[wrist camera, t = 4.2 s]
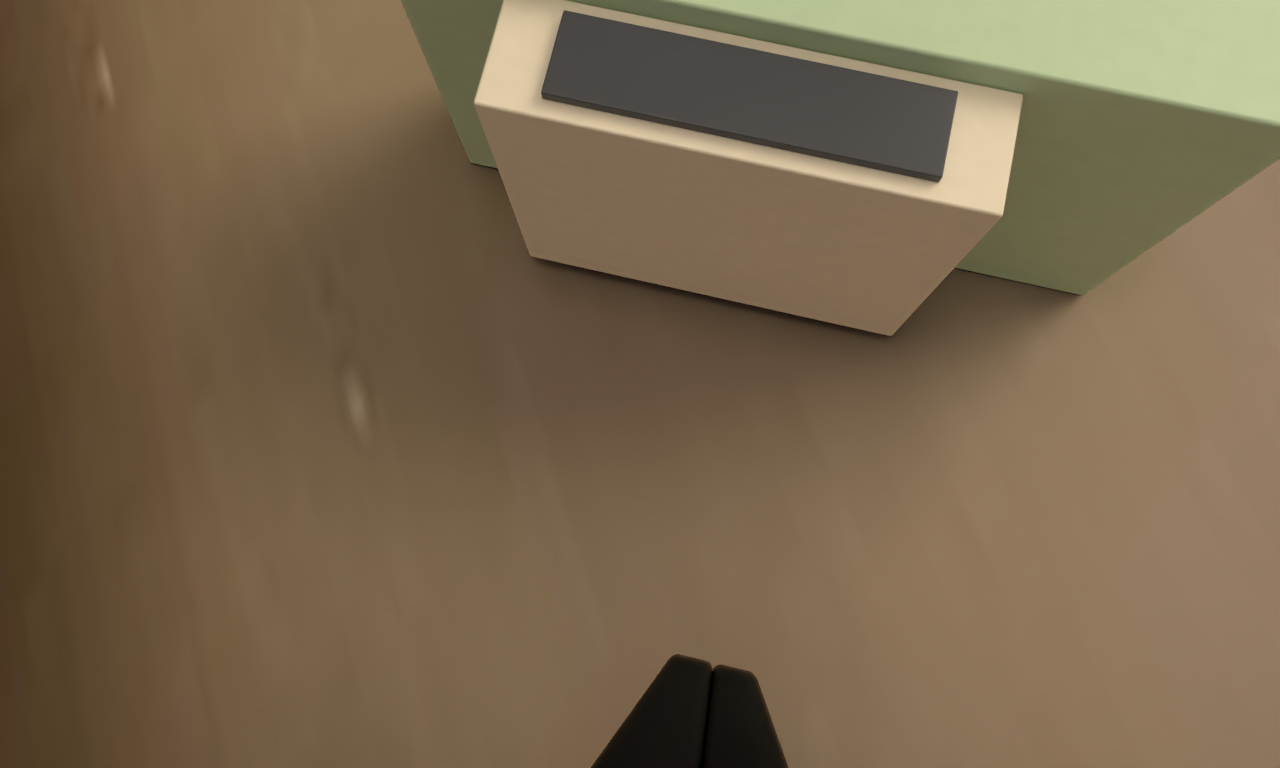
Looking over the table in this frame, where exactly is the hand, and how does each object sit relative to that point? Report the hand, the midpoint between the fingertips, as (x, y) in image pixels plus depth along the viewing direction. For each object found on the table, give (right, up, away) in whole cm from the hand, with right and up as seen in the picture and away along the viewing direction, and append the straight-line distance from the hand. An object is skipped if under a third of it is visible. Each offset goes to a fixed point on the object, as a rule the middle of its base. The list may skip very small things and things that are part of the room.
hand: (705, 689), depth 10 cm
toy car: (+2, +7, +13) cm, 15 cm away
